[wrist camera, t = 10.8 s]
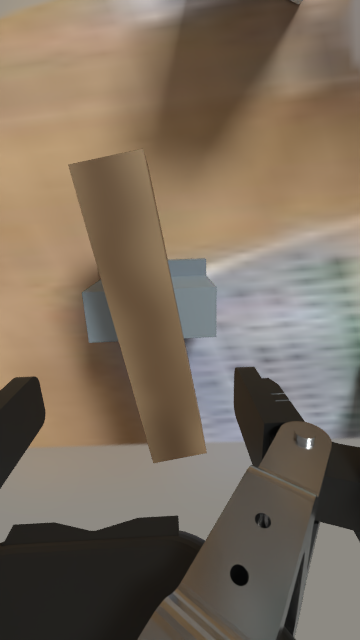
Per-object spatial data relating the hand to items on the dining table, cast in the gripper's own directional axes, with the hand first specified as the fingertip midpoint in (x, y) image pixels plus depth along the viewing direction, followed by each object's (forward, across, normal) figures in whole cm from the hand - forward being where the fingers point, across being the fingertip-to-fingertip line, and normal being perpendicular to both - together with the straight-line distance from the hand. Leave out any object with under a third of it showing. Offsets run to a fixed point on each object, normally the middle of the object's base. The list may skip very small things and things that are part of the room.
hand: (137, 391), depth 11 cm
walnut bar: (+10, 0, 0) cm, 11 cm away
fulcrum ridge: (+18, 0, 0) cm, 18 cm away
